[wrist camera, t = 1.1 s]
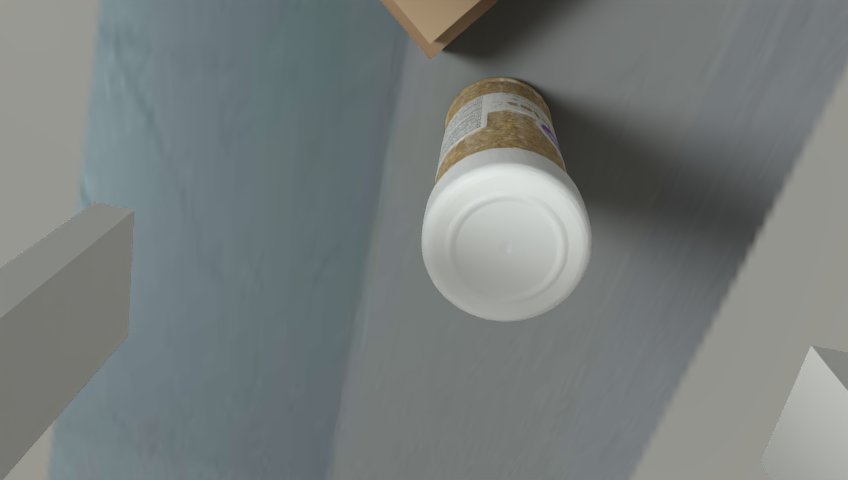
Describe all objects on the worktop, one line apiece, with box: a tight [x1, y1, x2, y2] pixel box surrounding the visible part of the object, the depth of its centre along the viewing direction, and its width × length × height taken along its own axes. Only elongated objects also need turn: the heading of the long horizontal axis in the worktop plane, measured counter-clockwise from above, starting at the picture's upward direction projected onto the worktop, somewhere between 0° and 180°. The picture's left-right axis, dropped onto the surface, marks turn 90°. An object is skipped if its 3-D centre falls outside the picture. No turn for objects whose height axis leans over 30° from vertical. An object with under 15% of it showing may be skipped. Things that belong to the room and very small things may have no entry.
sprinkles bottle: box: [421, 77, 592, 321], centre depth 27 cm, size 5×5×13 cm
